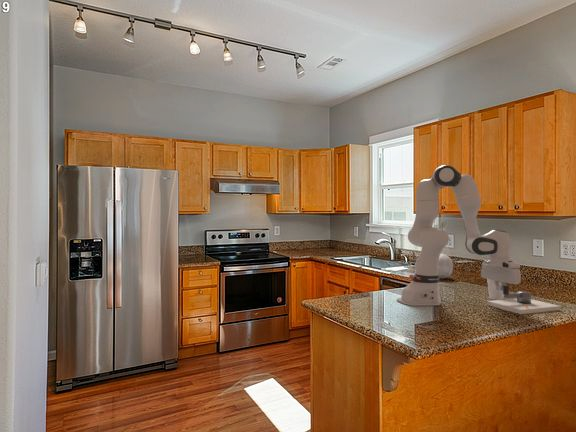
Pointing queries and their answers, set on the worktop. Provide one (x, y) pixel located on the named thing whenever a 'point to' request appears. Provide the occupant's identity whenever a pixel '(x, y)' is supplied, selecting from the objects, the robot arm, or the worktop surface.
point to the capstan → (518, 295)
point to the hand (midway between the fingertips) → (499, 290)
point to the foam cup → (494, 291)
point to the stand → (523, 306)
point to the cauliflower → (444, 266)
